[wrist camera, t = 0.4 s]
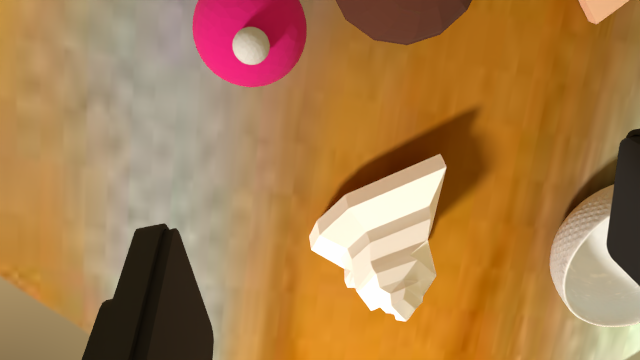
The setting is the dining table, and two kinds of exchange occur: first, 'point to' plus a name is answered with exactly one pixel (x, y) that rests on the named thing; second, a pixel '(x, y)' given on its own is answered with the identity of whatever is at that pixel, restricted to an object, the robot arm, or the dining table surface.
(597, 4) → the pink base grey block
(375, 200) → the soft serve ice cream
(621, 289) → the cereal bowl
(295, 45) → the pepper mill
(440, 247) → the dining table surface
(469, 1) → the muffin
